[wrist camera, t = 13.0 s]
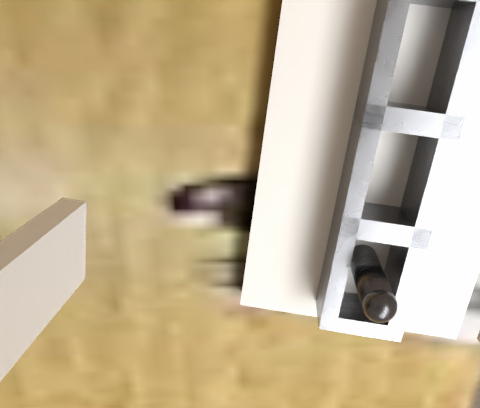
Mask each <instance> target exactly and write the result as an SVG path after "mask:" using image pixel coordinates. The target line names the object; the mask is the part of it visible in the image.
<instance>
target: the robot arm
mask: <svg viewBox="0 0 480 408" xmlns="http://www.w3.org/2000/svg"><path fill="white" fill-rule="evenodd" d="M86 205H87V201H80V200H74V199H67V198H62V199H60V200H59V201H57V202H56V203H55V204H53V205H52V206H50V207H49V208H47V209H46V210H44V211H43V212H42V213H40V214H39V215H37V216H36V217H34V218H33V219H32V220H30V221H29V222H27V223H26V224H24V225H23V226H21V227H20V228H19V229H17V230H16V231H14V232H13V233H11V234H10V235H9V236H7V237H6V238H4V239H3V240H1V241H0V381H1V380H2V379H3V378H4V376H5V375H6V374H7V373H8V372H9V370H10V369H11V368H12V367H13V366H14V364H15V363H16V362H17V361H18V359H19V358H20V357H21V356H22V355H23V353H24V352H25V351H26V350H27V349H28V347H29V346H30V345H31V344H32V342H33V341H34V340H35V339H36V338H37V336H38V335H39V334H40V333H41V332H42V330H43V329H44V328H45V327H46V325H47V324H48V323H49V322H50V321H51V319H52V318H53V317H54V316H55V315H56V313H57V312H58V311H59V310H60V309H61V307H62V306H63V305H64V304H65V302H66V301H67V300H68V299H69V298H70V296H71V295H72V294H73V293H74V292H75V290H76V289H77V288H78V287H79V285H80V284H81V283H82V282H83V281H84V279H85V260H86ZM477 339H478V340H479V341H480V332H479V335H478V337H477Z"/></svg>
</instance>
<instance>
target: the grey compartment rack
mask: <svg viewBox="0 0 480 408" xmlns="http://www.w3.org/2000/svg"><path fill="white" fill-rule="evenodd" d="M410 4H418V5H427V6H435V7H443V8H452V9H451V13H450V17H449V21H448V25H447V29H446V32H445V36H444V40H443V44H442V48H441V52H440V56H439V60H438V63H437V67H436V71H435V75H434V79H433V83H432V87H431V91H430V94H429V98H428V102H427V106H418V105H410V104H403V103H395V102H388V97H389V93H390V88H391V84H392V80H393V75H394V71H395V66H396V62H397V58H398V53H399V49H400V45H401V40H402V36H403V31H404V27H405V23H406V18H407V14H408V9H409V5H410ZM479 69H480V0H377V3H376V8H375V13H374V18H373V23H372V27H371V32H370V37H369V42H368V47H367V52H366V57H365V62H364V66H363V71H362V76H361V81H360V86H359V91H358V96H357V101H356V105H355V110H354V115H353V120H352V125H351V130H350V135H349V140H348V144H347V149H346V154H345V159H344V164H343V169H342V174H341V179H340V184H339V188H338V193H337V198H336V203H335V208H334V213H333V218H332V223H331V227H330V232H329V237H328V242H327V247H326V252H325V257H324V262H323V266H322V271H321V276H320V281H319V286H318V291H317V296H316V309H317V317H318V326H319V329H323V330H329V331H335V332H341V333H347V334H353V335H360V336H366V337H372V338H378V339H384V340H390V341H397V342H401V339H402V335H403V332H404V328H405V325H406V321H407V318H408V314H409V311H410V308H411V304H412V301H413V297H414V294H415V290H416V287H417V283H418V280H419V276H420V273H421V270H422V266H423V263H424V259H425V256H426V252H427V249H428V245H429V242H430V238H431V235H432V232H433V228H434V225H435V221H436V218H437V214H438V211H439V207H440V204H441V201H442V197H443V194H444V190H445V187H446V183H447V180H448V176H449V173H450V169H451V166H452V163H453V159H454V156H455V152H456V149H457V145H458V142H459V138H460V135H461V131H462V128H463V125H464V121H465V118H466V114H467V111H468V107H469V104H470V100H471V97H472V94H473V90H474V87H475V83H476V80H477V76H478V73H479ZM381 131H389V132H396V133H403V134H411V135H418V136H419V137H418V141H417V145H416V149H415V153H414V156H413V160H412V164H411V168H410V172H409V176H408V180H407V184H406V187H405V191H404V195H403V199H402V203H401V207H395V206H389V205H382V204H375V203H368V202H365V198H366V194H367V189H368V185H369V180H370V176H371V172H372V167H373V163H374V158H375V154H376V150H377V145H378V141H379V137H380V132H381ZM356 239H357V240H364V241H371V242H377V243H384V244H391V245H390V249H389V253H388V257H387V261H386V265H385V269H384V273H385V275H386V277H387V280H388V282H389V284H390V286H391V289H392V291H393V293H394V295H395V298H396V300H397V304H398V309H397V313H396V315H395V316H394V317H393V319H391V320H390V321H388V322H385V323H377V322H374V321H372V320H370V319H369V318H368V317H367V316H366V315H365V314H364V312H363V309H362V306H361V303H360V299H359V296H358V294H355V293H349V292H344V290H345V286H346V281H347V277H348V272H349V268H350V264H351V259H352V255H353V250H354V246H355V242H356Z"/></svg>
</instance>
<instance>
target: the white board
mask: <svg viewBox="0 0 480 408" xmlns="http://www.w3.org/2000/svg"><path fill="white" fill-rule="evenodd" d="M376 3H377V0H282V7H281V14H280V22H279V29H278V36H277V43H276V50H275V58H274V65H273V72H272V79H271V86H270V93H269V101H268V108H267V115H266V122H265V129H264V137H263V144H262V151H261V158H260V165H259V172H258V180H257V187H256V194H255V201H254V208H253V216H252V223H251V230H250V237H249V244H248V251H247V259H246V266H245V273H244V280H243V287H242V295H241V302H240V305H245V306H252V307H258V308H264V309H270V310H276V311H283V312H289V313H295V314H301V315H308V316H314V317H317V309H316V296H317V291H318V286H319V281H320V276H321V271H322V266H323V262H324V257H325V252H326V247H327V242H328V237H329V232H330V227H331V223H332V218H333V213H334V208H335V203H336V198H337V193H338V188H339V184H340V179H341V174H342V169H343V164H344V159H345V154H346V149H347V144H348V140H349V135H350V130H351V125H352V120H353V115H354V110H355V105H356V101H357V96H358V91H359V86H360V81H361V76H362V71H363V66H364V62H365V57H366V52H367V47H368V42H369V37H370V32H371V27H372V23H373V18H374V13H375V8H376ZM451 9H452V8H443V7H435V6H427V5H418V4H410V5H409V9H408V14H407V18H406V23H405V27H404V31H403V36H402V40H401V45H400V49H399V53H398V58H397V62H396V66H395V71H394V75H393V80H392V84H391V88H390V93H389V97H388V102H395V103H403V104H410V105H418V106H427V102H428V98H429V94H430V91H431V87H432V83H433V79H434V75H435V71H436V67H437V63H438V60H439V56H440V52H441V48H442V44H443V40H444V36H445V32H446V29H447V25H448V21H449V17H450V13H451ZM418 137H419V136H418V135H411V134H403V133H396V132H389V131H381V132H380V137H379V141H378V145H377V150H376V154H375V158H374V163H373V167H372V172H371V176H370V180H369V185H368V189H367V194H366V198H365V202H368V203H375V204H382V205H389V206H395V207H401V203H402V199H403V195H404V191H405V187H406V184H407V180H408V176H409V172H410V168H411V164H412V160H413V156H414V153H415V149H416V145H417V141H418ZM357 245H368V246H370V247H372V248H373V249H374V251H375V252H376V255H377V257H378V259H379V261H380V264H381V266H382V268H383V271H384V269H385V265H386V261H387V257H388V253H389V249H390V245H391V244H384V243H377V242H371V241H364V240H357V239H356V242H355V246H357ZM355 246H354V247H355ZM479 271H480V69H479V73H478V76H477V80H476V83H475V87H474V90H473V94H472V97H471V100H470V104H469V107H468V111H467V114H466V118H465V121H464V125H463V128H462V131H461V135H460V138H459V142H458V145H457V149H456V152H455V156H454V159H453V163H452V166H451V169H450V173H449V176H448V180H447V183H446V187H445V190H444V194H443V197H442V201H441V204H440V207H439V211H438V214H437V218H436V221H435V225H434V228H433V232H432V235H431V238H430V242H429V245H428V249H427V252H426V256H425V259H424V263H423V266H422V270H421V273H420V276H419V280H418V283H417V287H416V290H415V294H414V297H413V301H412V304H411V308H410V311H409V314H408V318H407V321H406V325H405V328H404V331H407V332H413V333H420V334H426V335H432V336H438V337H445V338H451V339H457V336H458V333H459V330H460V327H461V324H462V321H463V318H464V315H465V312H466V309H467V306H468V303H469V300H470V298H471V295H472V292H473V289H474V286H475V283H476V280H477V277H478V274H479ZM344 292H349V293H355V294H358V292H357V289H356V286H355V282H354V279H353V275H352V272H351V269H350V268H349V272H348V277H347V281H346V286H345V290H344Z"/></svg>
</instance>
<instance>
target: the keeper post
mask: <svg viewBox="0 0 480 408" xmlns="http://www.w3.org/2000/svg"><path fill="white" fill-rule="evenodd" d="M350 269H351V272H352V275H353V279H354V282H355V286H356V289H357V292H358V296H359V299H360V303H361V306H362V309H363V312H364V314H365V315H366V316H367V317H368V318H369V319H370V320H372V321H374V322H377V323H385V322H388V321H390V320H391V319H393V317H394V316H395V315H396V313H397V309H398V304H397V300H396V298H395V295H394V293H393V291H392V289H391V286H390V284H389V282H388V280H387V277H386V275H385V273H384V271H383V268H382V266H381V264H380V261H379V259H378V257H377V255H376V252H375V251H374V249H373V248H372V247H370V246H368V245H357V246H355V247H354V250H353V255H352V259H351V264H350Z"/></svg>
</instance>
